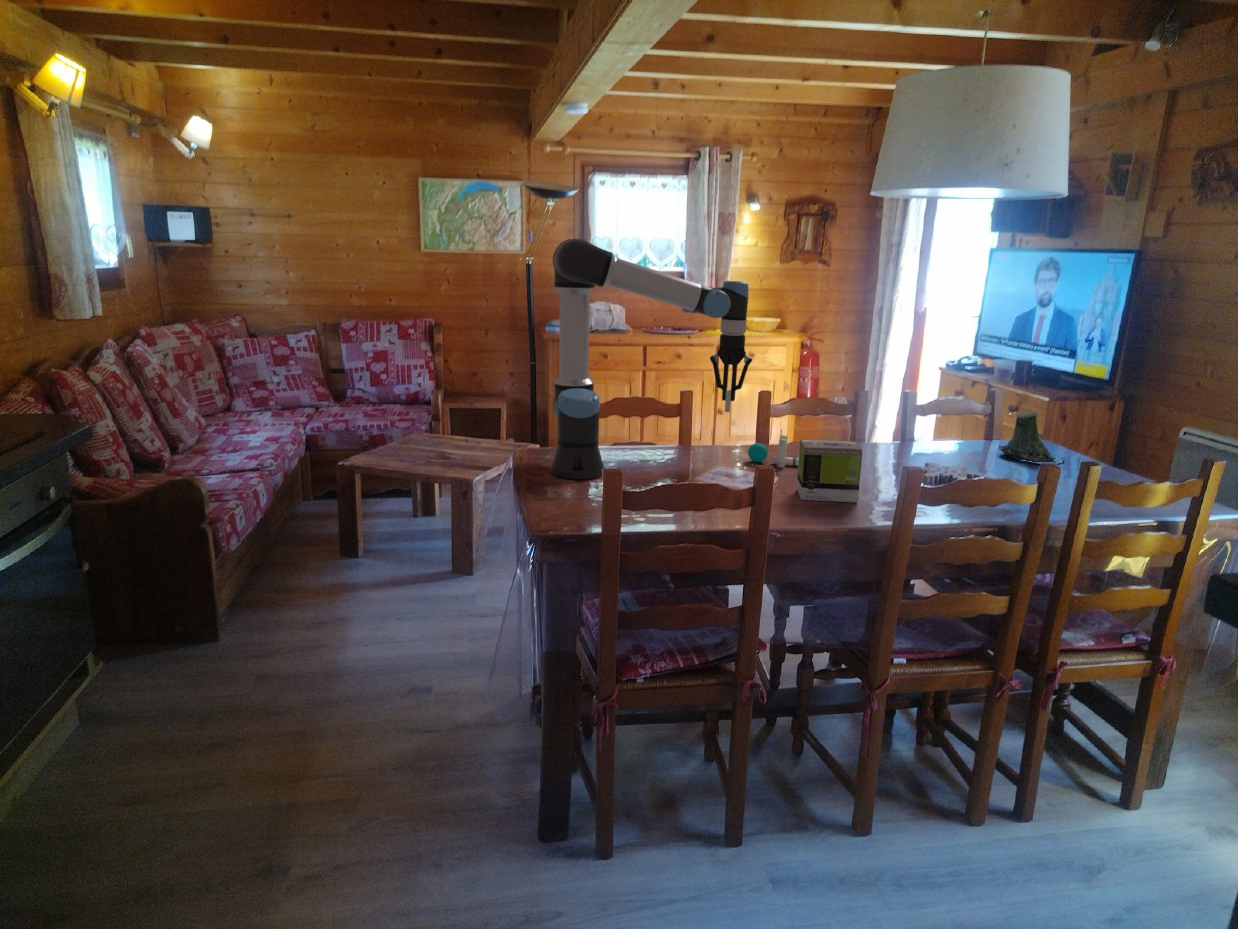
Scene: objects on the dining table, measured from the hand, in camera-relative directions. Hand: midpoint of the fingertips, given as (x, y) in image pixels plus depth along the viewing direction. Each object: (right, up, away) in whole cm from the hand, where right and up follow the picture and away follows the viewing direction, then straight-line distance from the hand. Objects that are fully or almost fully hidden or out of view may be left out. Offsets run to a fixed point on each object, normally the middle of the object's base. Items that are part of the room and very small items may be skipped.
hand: (727, 411), depth 248 cm
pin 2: (+16, -17, -2) cm, 23 cm away
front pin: (+14, -15, 0) cm, 21 cm away
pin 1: (+17, -16, +3) cm, 23 cm away
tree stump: (+103, -15, +19) cm, 105 cm away
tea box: (+22, -25, -31) cm, 46 cm away
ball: (+10, -13, +2) cm, 16 cm away
